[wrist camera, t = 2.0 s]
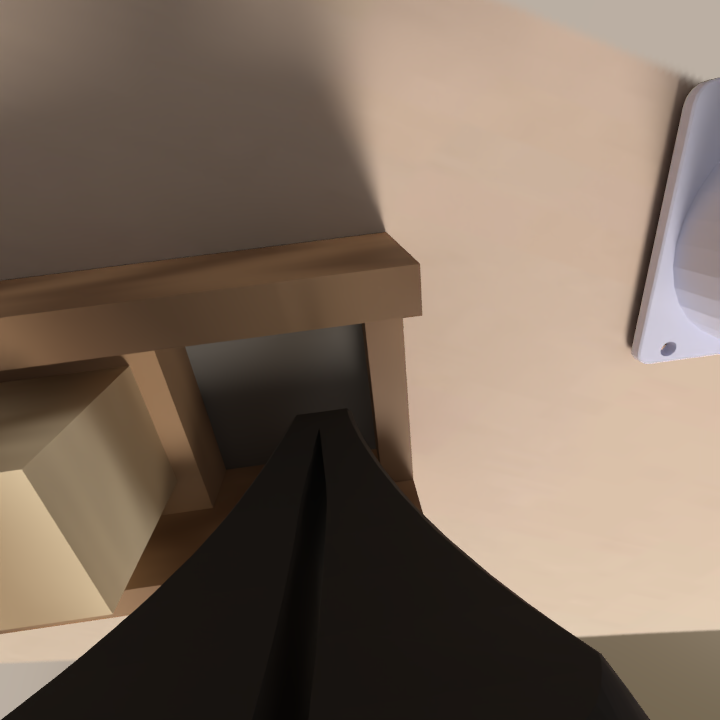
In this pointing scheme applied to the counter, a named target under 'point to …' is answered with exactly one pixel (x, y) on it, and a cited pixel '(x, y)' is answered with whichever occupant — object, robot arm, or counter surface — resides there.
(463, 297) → the counter surface
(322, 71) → the counter surface
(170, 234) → the counter surface
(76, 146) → the counter surface
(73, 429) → the birch block
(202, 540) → the channel
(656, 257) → the robot arm
